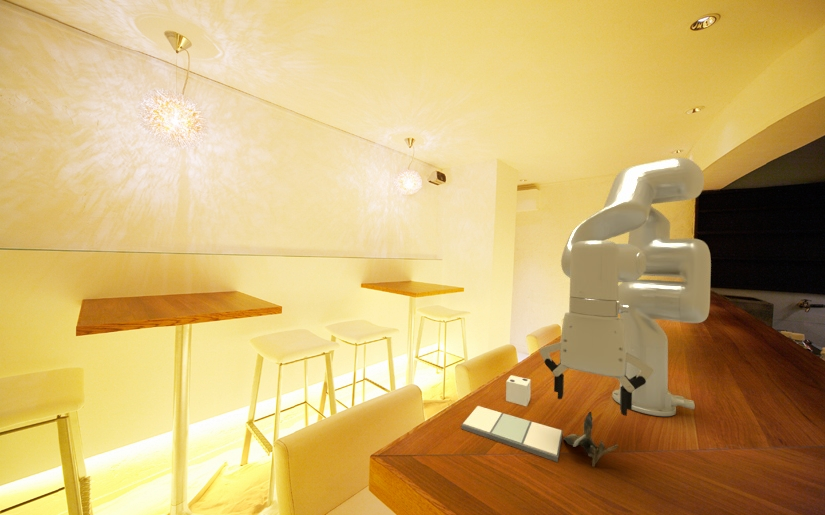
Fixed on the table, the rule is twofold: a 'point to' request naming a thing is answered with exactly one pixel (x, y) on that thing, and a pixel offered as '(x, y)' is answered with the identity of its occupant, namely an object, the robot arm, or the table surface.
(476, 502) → the table surface
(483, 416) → the game board
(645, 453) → the table surface
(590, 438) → the eagle figurine
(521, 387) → the die
